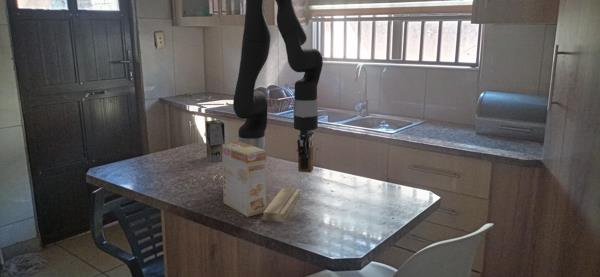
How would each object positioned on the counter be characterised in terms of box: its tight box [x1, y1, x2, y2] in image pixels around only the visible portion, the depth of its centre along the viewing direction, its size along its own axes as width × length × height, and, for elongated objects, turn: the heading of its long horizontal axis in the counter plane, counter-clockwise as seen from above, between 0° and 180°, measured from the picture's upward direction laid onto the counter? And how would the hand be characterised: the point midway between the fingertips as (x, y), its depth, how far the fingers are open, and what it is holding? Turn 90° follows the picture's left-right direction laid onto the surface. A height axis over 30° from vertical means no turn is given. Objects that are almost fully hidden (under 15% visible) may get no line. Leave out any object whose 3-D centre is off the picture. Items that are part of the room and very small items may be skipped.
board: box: [262, 187, 301, 223], centre depth 150 cm, size 6×22×3 cm, turn 168°
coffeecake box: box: [221, 141, 267, 218], centre depth 148 cm, size 15×7×20 cm, turn 37°
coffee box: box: [205, 119, 226, 163], centre depth 203 cm, size 9×6×16 cm
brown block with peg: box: [296, 144, 314, 173], centre depth 153 cm, size 5×4×8 cm
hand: (305, 166), depth 153 cm, fingers closed on brown block with peg, 4 cm apart
